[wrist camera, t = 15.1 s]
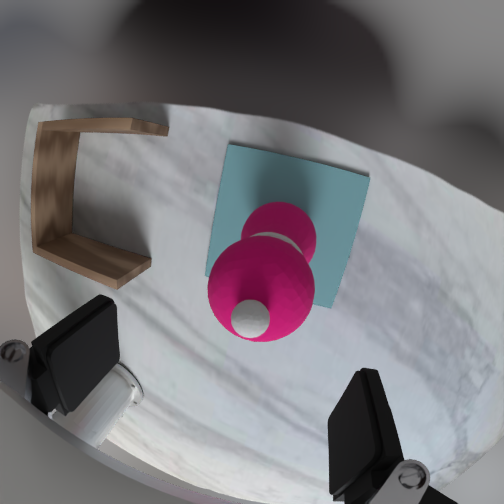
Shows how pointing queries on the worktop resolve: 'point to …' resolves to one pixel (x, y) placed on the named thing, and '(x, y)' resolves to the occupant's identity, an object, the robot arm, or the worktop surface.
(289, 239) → the pepper mill
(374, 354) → the worktop surface
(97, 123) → the open side box
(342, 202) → the mat
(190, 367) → the worktop surface
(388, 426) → the robot arm
